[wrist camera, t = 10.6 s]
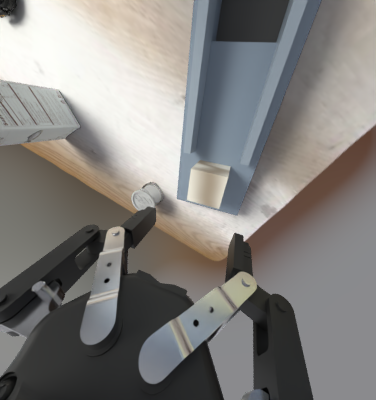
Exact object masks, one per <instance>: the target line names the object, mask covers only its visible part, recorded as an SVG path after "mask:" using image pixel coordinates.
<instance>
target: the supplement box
mask: <svg viewBox="0 0 376 400" xmlns="http://www.w3.org/2000/svg"><path fill="white" fill-rule="evenodd" d="M78 128H80V125H79V124H78V122H77V120H76V118H75V117H74V115H73V113H72V112H71V110H70V108H69V107H68V105H67V103H66V102H65V100H64V98H63V97H62V95H61V93H60V92H59V90H57V89H52V88H46V87H39V86H34V85H28V84H22V83H16V82H10V81H4V80H0V146H1V145H11V144H21V143H30V142H40V141H50V140H59V139H65V138H66V137H67V136H68V135H69V134H71V133H72V132H74V131H75V130H76V129H78Z"/></svg>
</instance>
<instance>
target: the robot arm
mask: <svg viewBox="0 0 376 400" xmlns="http://www.w3.org/2000/svg"><path fill="white" fill-rule="evenodd" d="M155 222H156V208H153V207H150V206H148V207H146V208H145V209H144V210H143V209H142V210H140V211H137V212H136V213H135V214H134V215H133V216H132V217H131V218H129V219H128V220H127V221H126V222H125V223H124V224H123V225H121V226H120V227H113V228H111V229H110V230H99V227H98V226H96V225H88V226H86V227H84V228H82V229H81V230H79V231H78V232H77V233H75V234H74V235H73V236H71V237H70V238H68V239H67V240H66V241H64V242H63V243H62V244H60V245H59V246H58V247H56V248H55V249H53V250H52V251H51V252H49V253H48V254H47V255H45V256H44V257H43V258H41V259H40V260H39V261H37V262H36V263H35V264H33V265H32V266H30V267H29V268H28V269H26V270H25V271H23V272H22V273H21V274H19V275H18V276H17V277H15V278H14V279H12V280H11V281H10V282H8V283H7V284H6V285H4V286H3V287H2V288H0V331H2V332H6V333H8V334H9V335H11V336H19V335H21V336H23V337H25V338H27V339H26V341H25V343H24V345H23V347H22V348H21V350H20V352H19V353H18V355H17V356H16V358H15V359H14V360H13V362H12V363H11V365H10V366H9V367H8V369H7V370H6V371H5V372H4V374H3V375H2V376H1V377H0V400H224V398H223V394H222V391H221V388H220V384H219V381H218V378H217V374H216V371H215V367H214V364H213V361H212V357H211V354H210V351H209V348H208V344H209V342H210V341H211V340H212V339H213V338H214V337H215V336H216V335H217V334H218V333H219V332H220V331H221V330H222V329H223V327H224V326H225V325H226V324H227V323H228V322H229V321H230V320H231V319H232V318H233V317H234V316H235V315H236V314H237V313H238V312H239V311H240V310H241V311H242V312H243V313H245V314H246V315H247V316H248V317H250V318H251V319H252V320H253V347H254V348H253V350H254V351H253V354H254V355H253V357H254V358H253V359H254V360H253V361H254V390H252V391H249V392H246V393H245V394H244V395H243V397H242V399H241V400H313V395H312V391H311V386H310V382H309V377H308V373H307V368H306V364H305V360H304V355H303V350H302V346H301V341H300V337H299V332H298V328H297V323H296V319H295V314H294V310H293V308H292V306H291V304H290V303H289V302H288V301H287V300H286V299H285V298H284V297H282V296H281V295H279V294H272V295H270V294H268V293H267V292H266V291H264V290H263V289H261V288H260V287H259V286H258V285H257V284H256V281H255V279H254V278H253V273H252V259H251V248H250V246H249V244H248V243H246V242H243V235H240V234H237V233H234V235H233V238H232V240H231V242H230V245H229V249H228V258H227V269H226V278H225V284H224V285H223V286H221V287H216V288H215V289H214V290H212V291H211V292H210V293H208V294H207V295H206V296H204V297H203V298H202V299H201V300H199V301H198V302H197V303H195V304H194V303H193V301H192V300H191V299H190V298H189V296H187V295H186V293H187V291H186V290H185V289H183V288H180V287H178V286H176V285H171V284H162V283H159V282H158V281H157V280H156V279H155V278H153V277H152V276H151V275H150V274H148V273H145V272H143V271H141V270H138V272H137V273H132V274H128V249H129V248H130V247H132V248H135V247H136V246H137V245H138V244H139V242H140V241H141V240H142V239H143V238H144V237H145V235H146V234H147V233H148V232H149V231H150V229H151V228H152V227H153V226H154V224H155ZM84 248H86V249H85V250H84V251H83V252H82V253H81V254H79V253H80V252H81V251H82V250H83V249H84ZM78 254H79V256H77V255H78ZM76 256H77V257H76ZM75 257H76V258H75ZM98 258H99V259H98ZM97 259H98V264H97V268H96V273H95V277H94V282H93V286H92V291H90V292H88V293H86V294H84V295H82V296H80V297H78V298H76V299H74V300H72V301H70V302H68V303H66V304H64V305H62V301H63V300H64V297H65V293H66V292H67V291H68V290H69V289H70V288H71V286H73V284H75V282H76V281H77V280H78V279H79V278H80V277H81V276H82V275H83V274H84V273H85V272H86V271H87V270H88V269H89V268H90V267H91V266H92V265H93V264H94V262H95V261H96V260H97ZM61 305H62V306H61Z"/></svg>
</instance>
